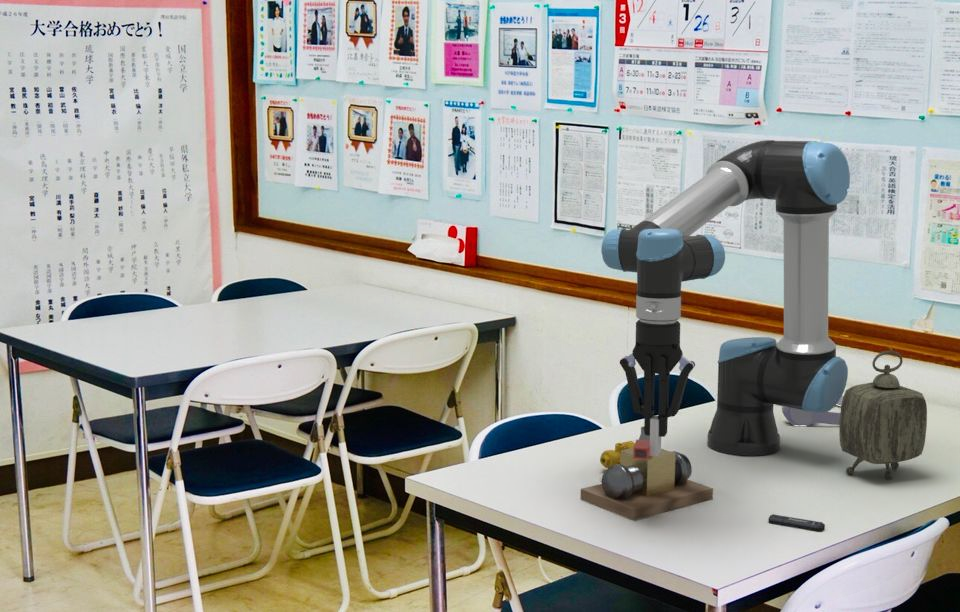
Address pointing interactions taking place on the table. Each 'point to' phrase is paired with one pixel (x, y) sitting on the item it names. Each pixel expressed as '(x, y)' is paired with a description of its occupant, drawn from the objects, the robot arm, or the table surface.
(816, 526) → the usb stick
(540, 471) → the table surface
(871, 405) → the tabletop clock
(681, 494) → the valve plinth
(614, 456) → the pressure relief valve
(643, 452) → the valve lever
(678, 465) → the pipe valve
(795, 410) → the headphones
